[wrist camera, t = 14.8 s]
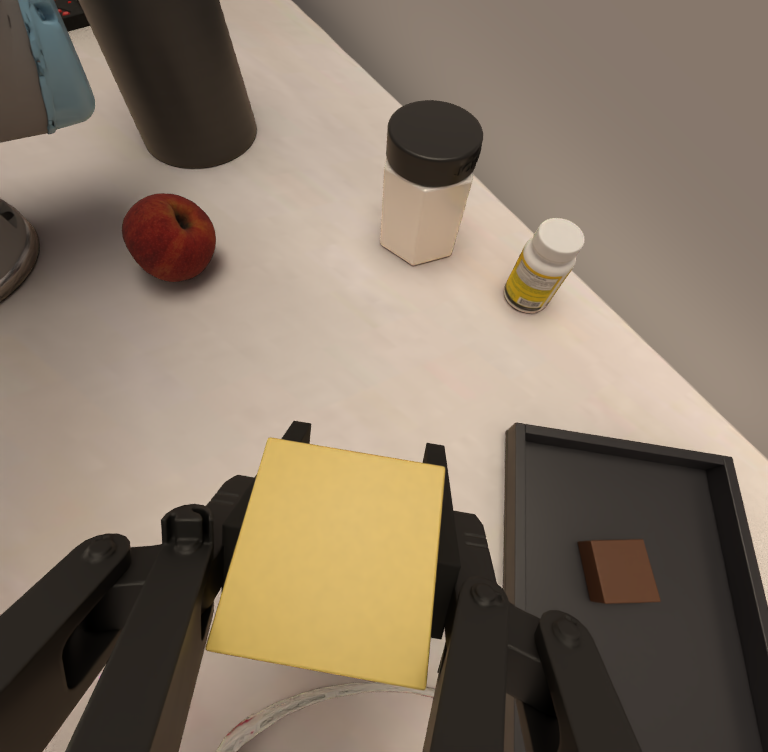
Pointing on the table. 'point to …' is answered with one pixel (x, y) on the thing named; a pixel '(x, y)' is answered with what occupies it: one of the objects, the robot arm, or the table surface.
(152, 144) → the vase
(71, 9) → the handheld gaming console
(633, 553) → the brown square block
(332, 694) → the sunglasses
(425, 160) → the jar
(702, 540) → the pan
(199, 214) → the apple
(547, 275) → the supplement bottle
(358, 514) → the sponge
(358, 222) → the table surface
